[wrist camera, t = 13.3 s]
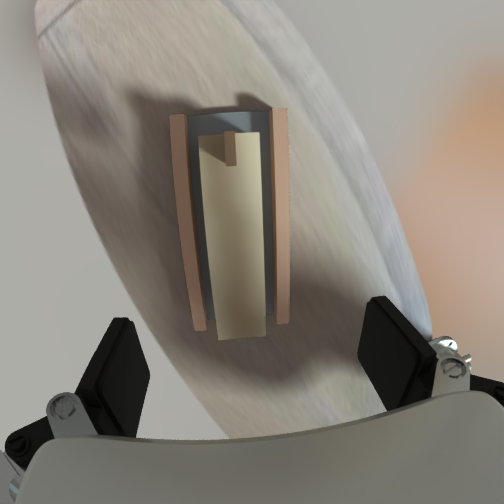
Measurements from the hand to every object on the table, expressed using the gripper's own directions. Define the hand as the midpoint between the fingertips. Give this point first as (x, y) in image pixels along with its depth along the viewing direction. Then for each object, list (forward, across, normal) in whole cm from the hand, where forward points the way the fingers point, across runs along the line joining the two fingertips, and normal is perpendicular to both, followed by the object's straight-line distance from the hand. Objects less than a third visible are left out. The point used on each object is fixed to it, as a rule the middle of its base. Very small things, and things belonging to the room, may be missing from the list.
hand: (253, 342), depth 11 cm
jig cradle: (+18, 0, 0) cm, 18 cm away
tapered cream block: (+16, 0, 0) cm, 17 cm away
